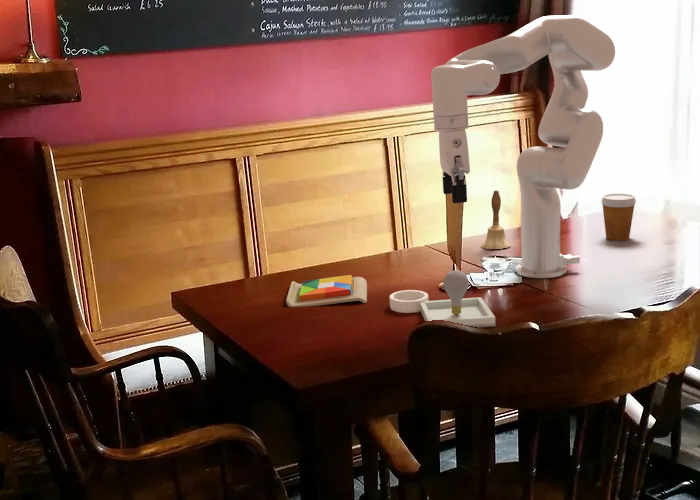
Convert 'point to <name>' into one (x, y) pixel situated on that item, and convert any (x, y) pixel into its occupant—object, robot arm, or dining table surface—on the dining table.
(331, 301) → the wooden puzzle
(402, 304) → the holder ring
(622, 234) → the disposable coffee cup
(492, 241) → the hand bell
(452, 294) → the light bulb
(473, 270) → the dining table surface
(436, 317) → the tray
